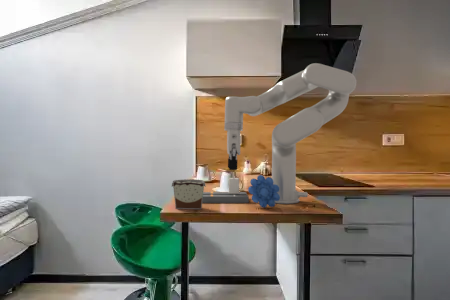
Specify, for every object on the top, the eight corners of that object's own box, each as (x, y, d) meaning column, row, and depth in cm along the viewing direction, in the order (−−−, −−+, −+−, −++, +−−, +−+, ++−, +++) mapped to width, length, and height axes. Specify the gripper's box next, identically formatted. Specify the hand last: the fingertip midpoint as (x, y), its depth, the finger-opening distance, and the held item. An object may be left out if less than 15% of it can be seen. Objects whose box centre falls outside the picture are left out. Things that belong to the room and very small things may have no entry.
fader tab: (238, 195, 147) (238, 177, 147) (238, 196, 144) (238, 178, 144) (228, 195, 147) (228, 177, 147) (229, 196, 144) (229, 178, 144)
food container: (207, 206, 132) (208, 179, 132) (205, 209, 126) (205, 181, 126) (175, 205, 133) (175, 179, 133) (171, 208, 127) (171, 180, 127)
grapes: (248, 209, 126) (248, 176, 126) (248, 206, 133) (248, 174, 132) (281, 210, 125) (281, 176, 125) (279, 206, 132) (279, 174, 132)
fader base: (245, 197, 152) (245, 191, 152) (248, 202, 140) (248, 196, 140) (201, 197, 151) (201, 191, 151) (200, 202, 139) (200, 196, 139)
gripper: (244, 126, 136) (243, 171, 137) (240, 128, 154) (239, 167, 154) (225, 126, 136) (223, 170, 136) (223, 127, 153) (222, 167, 154)
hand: (232, 168), depth 145 cm, fingers open, 9 cm apart
